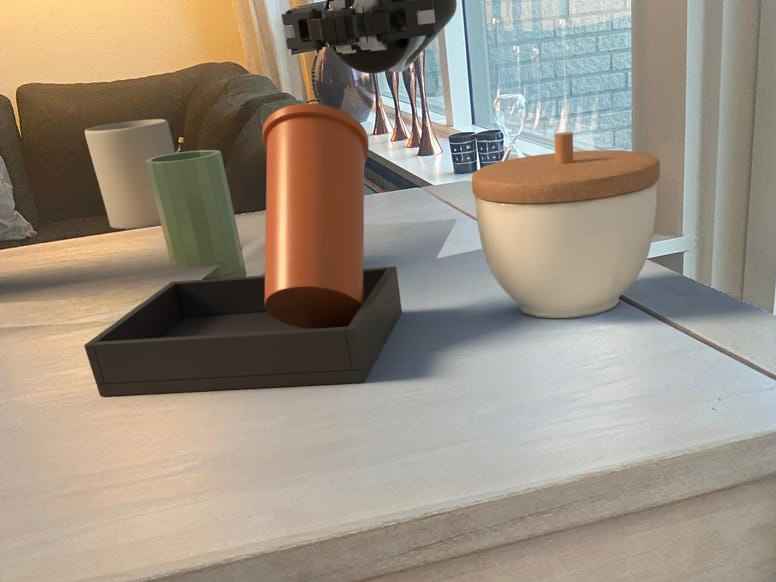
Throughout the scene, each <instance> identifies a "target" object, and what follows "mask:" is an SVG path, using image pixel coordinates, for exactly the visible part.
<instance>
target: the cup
mask: <svg viewBox="0 0 776 582" xmlns="http://www.w3.org/2000/svg"><path fill="white" fill-rule="evenodd" d="M145 163H146V167H147V171H148V174H149V178H150V182H151V186H152V190H153V194H154V198H155V202H156V206H157V210H158V214H159V218H160V222H161V225H160V226H161V230H162V233H163V237H164V241H165V245H166V248H167V249H166V250H167V253H168V257H169V262H170V264H171V265H172V266H173V267H177V268H179V267H180V268H195V267H205V266H211V265H218V264H220V265H218V266H217V267H216V268H214V269H213V270H211V271H210V272H209V273H208V274H206V275H205V276H204V277H203V278H202V279H201V280H205V279H220V278H235V277H247V275H248V274H247V270H246V263H245V259H244V254H243V249H242V245H241V240H240V235H239V231H238V226H237V225H238V224H237V221H236V216H235V212H234V206H233V203H232V198H231V197H232V196H231V193H230V192H231V191H230V187H229V183H228V179H227V174H226V169H225V165H224V159H223V154H222V152H221V150H216V149H202V150H201V149H200V150H191V151H190V150H189V151H181V152H175V153H173V154H167V155H162V156H157V157H153V158H150V159H147V160H145Z"/></svg>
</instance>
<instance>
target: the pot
mask: <svg viewBox="0 0 776 582" xmlns="http://www.w3.org/2000/svg"><path fill="white" fill-rule="evenodd" d="M261 135H262V144H263V147H264V149H265V151H266V177H265V179H266V183H265V184H266V185H265V186H266V187H265V190H266V192H265V240H264V241H265V243H264V245H265V247H264V248H265V249H264V250H265V252H264V253H265V254H264V275H265V308H266V310H267V312H268V313H269V314H270V315H271V316H272V317H274V318H275V319H277V320H279V321H281V322H283V323H285V324H288V325H291V326H295V327H300V328H306V329H317V328H333V327H345V326H349V324H350V323H351V321H352V320H353V318H354V317H355V315H356V314H357V312H358V311H359V309H360V308H361V307H362V305H363V273H364V269H365V268H364V264H365V262H364V261H365V260H364V258H365V255H364V252H365V251H364V249H365V248H364V247H365V245H364V244H365V243H364V239H365V231H364V230H365V227H364V226H365V219H364V218H365V161H366V158H367V157H368V154H369V146H370V145H369V135H368V133H367V131H366V129H365V128H364V126H363V124H361V122H359V120H358V119H356V118H355V117H353V116H352V115H350V114H349V113H347V112H345V111H343V110H341V109H339V108H336V107H333V106H328V105H324V104H317V103H296V104H291V105H287V106H284V107H282V108H280V109H279V108H278V109H277V110H275V111H273V112H272V113H271V114H270V115H269V116H268V117H267V118H266V120H265V121H264V123H263V126H262V134H261Z"/></svg>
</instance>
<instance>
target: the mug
mask: <svg viewBox="0 0 776 582" xmlns="http://www.w3.org/2000/svg"><path fill="white" fill-rule="evenodd" d="M84 136H85V140H86V143H87V147H88V150H89V154H90V157H91V161H92V165H93V168H94V172H95V175H96V179H97V182H98V186H99V190H100V194H101V197H102V200H103V204H104V207H105V212H106V215H107V219H108V223H109V226H110V227H111V228H113V229H140V228H148V227H156V226H161V222H160V218H159V214H158V210H157V206H156V202H155V198H154V194H153V190H152V186H151V182H150V178H149V174H148V171H147V167H146V163H145V160H147V159H150V158H153V157H157V156H162V155H167V154H173V153H176V151H175V145H174V142H173V137H172V133H171V129H170V125H169V122H168V120H166V119H161V118H159V119H157V118H155V119H142V120H132V121H123V122H115V123H109V124H102V125H98V126H97V125H96V126H93V127H89V128H86V129H85V130H84Z"/></svg>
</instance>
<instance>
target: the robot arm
mask: <svg viewBox="0 0 776 582" xmlns="http://www.w3.org/2000/svg"><path fill="white" fill-rule="evenodd" d="M457 3H458V2H457V0H326V1H325V6H324V9H323V10H322V9H320V10H319V9H317V8H315V7H314V8H309V10H307V11H299V12H293V11H292V10H287V11H285V13H281V20H282V26H283V31H284V37H285V43H286V49H287V50H291V52H296V51H299V50H309V49H310V50H313V49H315V50H316V51H323V50H324V48H328V47H329V48H332V50H333V51H334V52H335V54H336V56H338V57H339V59H340V60H341V61H342V62H343V63H344V64H345V65H346V66H348V67H350V68H351V69H353V70H355V71H357V72H360V73H364V74H371V75H372V74H380V73H384V72H387V71H389V72H392V73H402V72H404V71H405V70H407V69H408V68H409V67H410V66H411V65H412V64H413V63H414V62H415V61H416V60H417V59H418V58H419V57H420V56H421V53H423V52H424V51H425V49H427V48H428V46H429V45H430V44H431V43H432V42H433V41H434V40H435V38H436V37H438V35H439V34H440V33H441V32H442V30H443V29H445V27H446V26H447V25H448V24H449V23H450V22H451V20H452V19H453V17H454V16H455V14H456V11H457V7H458V4H457ZM327 44H328V45H327Z"/></svg>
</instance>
